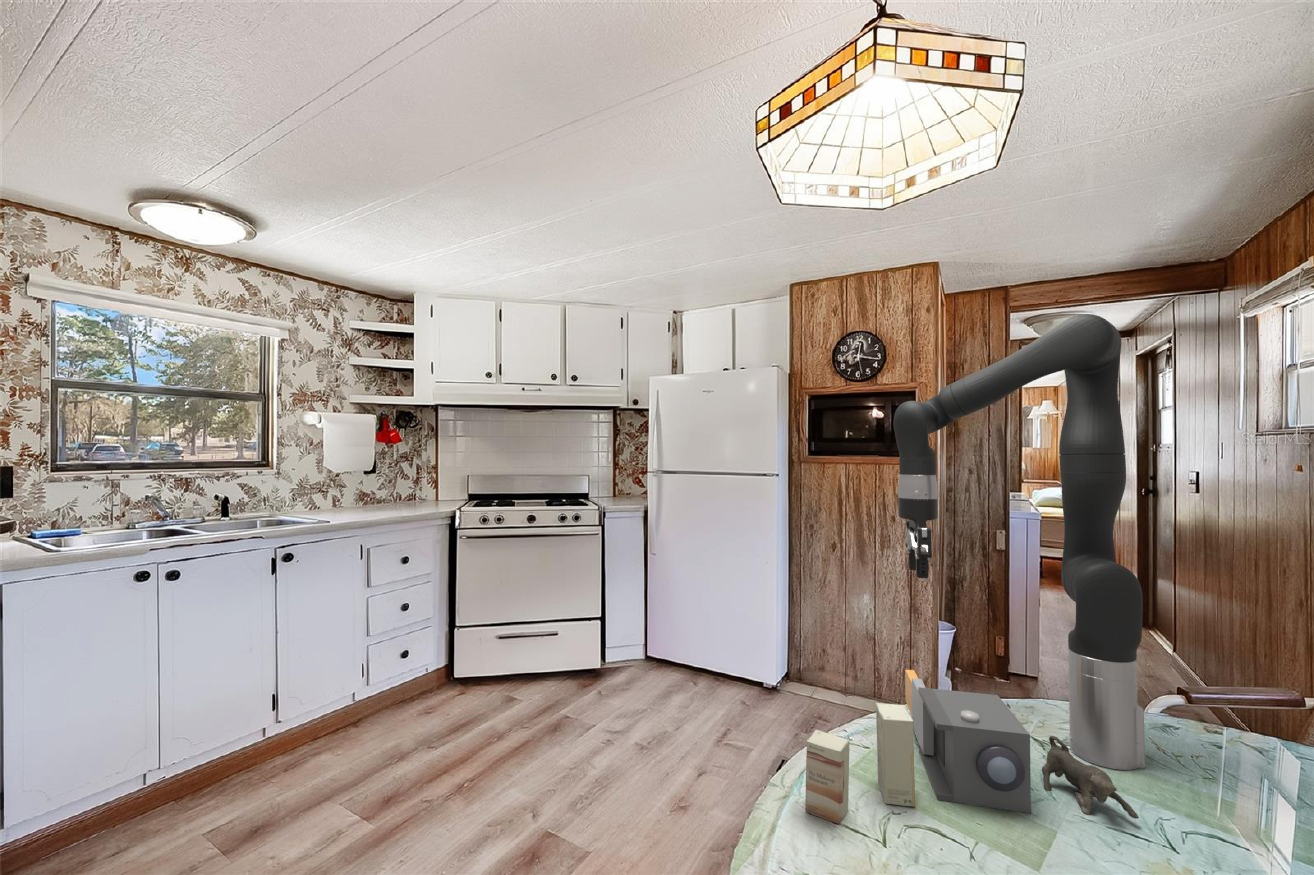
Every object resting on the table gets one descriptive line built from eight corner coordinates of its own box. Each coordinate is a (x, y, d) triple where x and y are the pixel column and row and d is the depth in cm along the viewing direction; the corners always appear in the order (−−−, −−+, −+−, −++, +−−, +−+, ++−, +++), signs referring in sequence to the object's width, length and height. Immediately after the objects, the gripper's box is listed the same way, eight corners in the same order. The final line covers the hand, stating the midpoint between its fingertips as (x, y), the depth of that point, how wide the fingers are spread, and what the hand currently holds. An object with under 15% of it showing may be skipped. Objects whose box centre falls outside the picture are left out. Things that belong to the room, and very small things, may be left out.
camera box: (998, 762, 95) (997, 690, 95) (1034, 818, 80) (1033, 733, 80) (918, 752, 98) (918, 682, 98) (939, 804, 83) (938, 722, 83)
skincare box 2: (916, 808, 82) (915, 722, 83) (883, 804, 83) (882, 719, 83) (906, 784, 88) (905, 704, 89) (875, 780, 89) (875, 701, 90)
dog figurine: (1033, 782, 89) (1032, 734, 90) (1066, 779, 90) (1065, 731, 90) (1105, 831, 77) (1103, 775, 78) (1141, 828, 78) (1140, 772, 79)
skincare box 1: (804, 812, 81) (804, 740, 81) (814, 797, 85) (814, 728, 85) (841, 826, 78) (841, 751, 78) (850, 810, 82) (850, 738, 82)
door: (914, 711, 111) (914, 665, 112) (933, 755, 95) (933, 701, 95) (905, 710, 112) (905, 664, 112) (923, 754, 95) (922, 700, 95)
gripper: (945, 499, 113) (945, 582, 112) (929, 494, 126) (930, 568, 126) (904, 498, 115) (904, 579, 114) (893, 493, 128) (893, 566, 128)
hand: (918, 573), depth 120 cm, fingers open, 8 cm apart
